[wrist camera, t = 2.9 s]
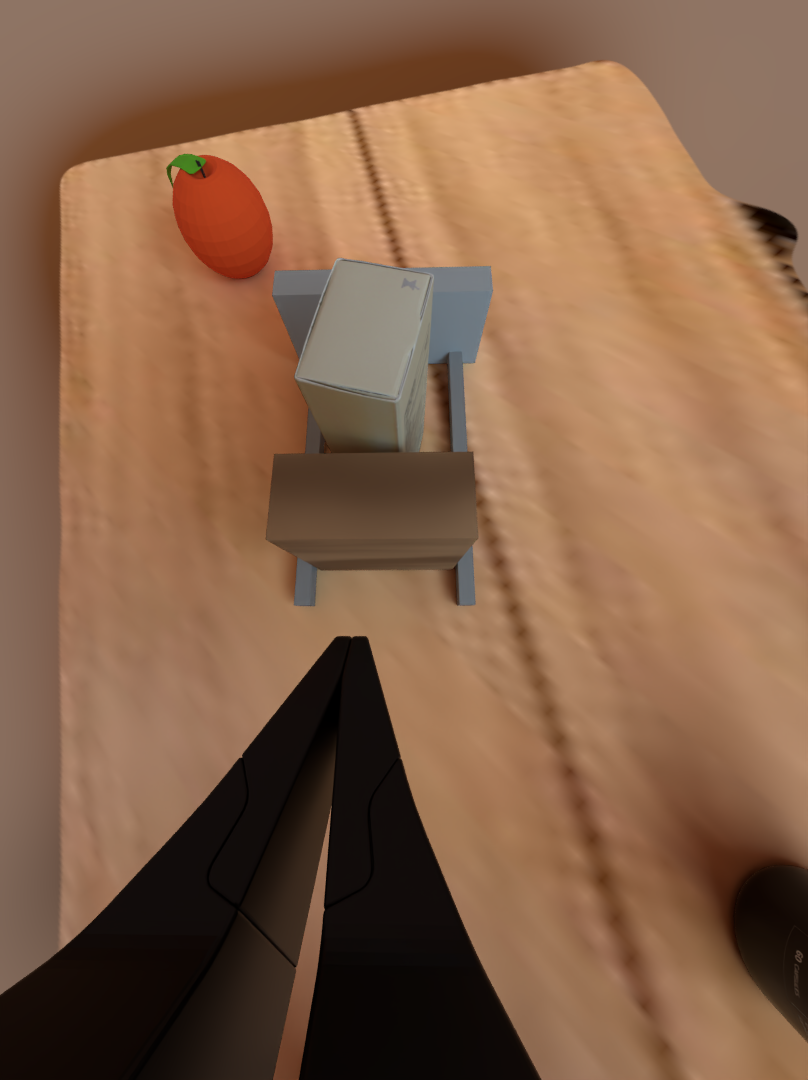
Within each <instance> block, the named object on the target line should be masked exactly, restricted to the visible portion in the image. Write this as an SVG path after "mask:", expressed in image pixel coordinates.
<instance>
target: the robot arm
mask: <svg viewBox="0 0 808 1080" xmlns="http://www.w3.org/2000/svg"><path fill="white" fill-rule="evenodd" d="M331 805H332V808H331ZM330 809H331V821H330V834H329V847H328V860H327V873H326V886H325V899H324V908H325V911H324V914H323V925H322V936H321V945H320V953H319V962H318V969H317V976H316V982H315V988H314V994H313V999H312V1005H311V1011H310V1017H309V1023H308V1029H307V1035H306V1041H305V1046H304V1052H303V1058H302V1064H301V1070H300V1076H299V1080H541V1078H540V1076H539V1074H538V1072H537V1070H536V1068H535V1066H534V1065H533V1063H532V1061H531V1059H530V1057H529V1055H528V1053H527V1051H526V1049H525V1047H524V1045H523V1043H522V1042H521V1040H520V1038H519V1036H518V1034H517V1032H516V1030H515V1028H514V1026H513V1024H512V1022H511V1020H510V1019H509V1017H508V1015H507V1013H506V1011H505V1009H504V1007H503V1005H502V1003H501V1001H500V999H499V997H498V996H497V994H496V992H495V990H494V988H493V986H492V984H491V982H490V980H489V978H488V976H487V974H486V972H485V970H484V968H483V966H482V964H481V962H480V960H479V958H478V956H477V954H476V951H475V949H474V947H473V945H472V943H471V940H470V938H469V936H468V934H467V931H466V929H465V927H464V924H463V922H462V920H461V917H460V915H459V913H458V910H457V908H456V905H455V903H454V900H453V898H452V895H451V893H450V891H449V888H448V886H447V883H446V881H445V878H444V876H443V874H442V871H441V869H440V866H439V864H438V861H437V859H436V856H435V854H434V852H433V849H432V847H431V844H430V842H429V839H428V837H427V834H426V832H425V829H424V827H423V824H422V821H421V819H420V816H419V813H418V811H417V808H416V805H415V802H414V799H413V796H412V793H411V790H410V786H409V783H408V780H407V777H406V773H405V769H404V766H403V762H402V760H401V756H400V752H399V748H398V745H397V741H396V738H395V734H394V730H393V727H392V723H391V720H390V716H389V712H388V709H387V705H386V701H385V698H384V694H383V691H382V687H381V683H380V680H379V676H378V673H377V669H376V665H375V662H374V658H373V655H372V651H371V647H370V644H369V640H368V638H367V637H366V636H354V637H353V638H351V637H350V636H338V637H336V638H335V639H334V640H333V641H332V642H331V644H330V645H329V646H328V647H327V649H326V650H325V651H324V652H323V654H322V655H321V656H320V657H319V659H318V660H317V661H316V662H315V664H314V665H313V666H312V667H311V669H310V670H309V671H308V672H307V674H306V675H305V676H304V678H303V679H302V680H301V681H300V683H299V684H298V685H297V686H296V688H295V689H294V690H293V691H292V693H291V694H290V695H289V696H288V698H287V699H286V700H285V701H284V703H283V704H282V705H281V706H280V708H279V709H278V710H277V711H276V713H275V714H274V715H273V716H272V718H271V719H270V720H269V722H268V723H267V724H266V725H265V727H264V728H263V729H262V730H261V732H260V733H259V734H258V735H257V737H256V738H255V739H254V740H253V742H252V743H251V744H250V745H249V747H248V748H247V749H246V750H245V752H244V753H243V754H242V758H239V759H238V760H237V761H236V763H235V764H234V765H233V767H232V768H231V769H230V770H229V772H228V773H227V774H226V775H225V777H224V778H223V779H222V780H221V781H220V783H219V784H218V785H217V786H216V787H215V789H214V790H213V791H212V792H211V793H210V795H209V796H208V797H207V798H206V799H205V801H204V802H203V803H202V804H201V805H200V806H199V807H198V808H197V809H196V811H195V812H194V813H193V814H192V815H191V816H190V817H189V818H188V819H187V821H186V822H185V823H184V824H183V825H182V826H181V827H180V828H179V829H178V831H177V832H176V833H175V834H174V835H173V836H172V837H171V838H170V839H169V840H168V841H167V842H166V843H165V845H164V846H163V847H162V848H161V849H160V850H159V851H158V852H157V853H156V854H155V855H154V856H153V857H152V859H151V860H150V861H149V862H148V863H147V864H146V865H145V866H144V867H143V868H142V869H141V870H140V871H139V872H138V874H137V875H136V876H135V877H134V878H133V879H132V880H131V881H130V882H129V883H128V884H127V885H126V886H125V888H124V889H123V890H122V891H121V892H120V893H119V894H118V895H117V896H116V897H115V898H114V899H113V900H112V901H111V903H110V904H109V905H108V906H107V907H106V908H105V909H104V910H103V911H102V912H101V913H100V914H99V915H98V916H97V917H96V918H95V919H94V920H93V921H92V922H91V923H90V924H89V925H88V926H87V927H86V928H85V929H84V930H83V931H82V932H81V933H80V934H78V935H77V936H76V937H75V938H74V939H73V940H72V941H70V942H69V943H68V944H67V945H66V946H65V947H64V948H62V949H61V950H60V951H59V952H57V953H56V954H55V955H54V956H53V957H51V958H50V959H49V960H48V961H46V962H45V963H44V964H42V965H41V966H40V967H38V968H37V969H36V970H34V971H33V972H31V973H30V974H29V975H27V976H26V977H24V978H23V979H22V980H20V981H19V982H17V983H16V984H15V985H13V986H12V987H11V988H9V989H8V990H6V991H5V992H4V993H3V994H1V995H0V1080H273V1076H274V1071H275V1067H276V1062H277V1057H278V1053H279V1048H280V1043H281V1039H282V1034H283V1029H284V1025H285V1020H286V1015H287V1011H288V1006H289V1001H290V997H291V992H292V987H293V983H294V978H295V973H296V968H295V967H296V966H297V964H298V959H299V954H300V949H301V945H302V940H303V935H304V931H305V926H306V921H307V917H308V912H309V907H310V903H311V898H312V893H313V889H314V884H315V879H316V875H317V870H318V865H319V861H320V856H321V851H322V847H323V842H324V837H325V833H326V828H327V823H328V819H329V814H330Z"/></svg>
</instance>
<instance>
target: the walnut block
mask: <svg viewBox="0 0 808 1080" xmlns="http://www.w3.org/2000/svg"><path fill="white" fill-rule="evenodd" d="M477 539H478V527H477V509H476V492H475V474H474V457H473V452H400V453H315V454H274V461H273V471H272V481H271V492H270V502H269V512H268V522H267V532H266V540H267V541H269V542H271V543H273V544H275V545H276V546H278V547H280V548H282V549H284V550H285V551H287V552H289V553H291V554H293V555H294V556H296V557H298V558H300V559H302V560H303V561H305V562H307V563H309V564H311V565H312V566H314V567H316V568H318V569H320V570H452V569H453V568H454V567H455V565H456V564H457V563H458V562H459V561H460V559H461V558H462V557H463V556H464V554H465V553H466V552H467V551H468V550H469V548H470V547H471V546H472V545H473V544H474V542H475V541H476V540H477Z"/></svg>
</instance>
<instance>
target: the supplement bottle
mask: <svg viewBox="0 0 808 1080" xmlns="http://www.w3.org/2000/svg"><path fill="white" fill-rule="evenodd" d="M734 926H735V934H736V939H737V944H738V947H739V951H740V953H741V956H742V959H743V961H744V963H745V966H746V968H747V970H748V972H749V973H750V975H751V977H752V978H753V980H754V982H755V983H756V985H757V986H758V988H759V989H760V990H761V991H762V993H763V994H764V995H765V996H766V998H767V999H768V1000H769V1001H770V1002H771V1003H772V1004H773V1005H774V1007H775V1008H776V1009H777V1010H778V1011H779V1012H780V1013H781V1014H782V1015H783V1016H784V1018H785V1019H786V1020H787V1021H788V1022H789V1023H790V1024H791V1025H792V1026H793V1028H794V1029H795V1030H796V1031H797V1032H798V1033H799V1034H800V1035H801V1036H802V1037H803V1038H804V1039H805V1040H806V1042H807V1043H808V870H806V869H803V868H800V867H796V866H790V865H775V866H770V867H766V868H764V869H761V870H759V871H758V872H756V873H755V874H753V875H752V876H751V877H750V878H749V879H748V880H747V881H746V882H745V884H744V885H743V887H742V889H741V890H740V893H739V895H738V898H737V901H736V906H735V913H734Z"/></svg>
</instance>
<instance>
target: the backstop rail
mask: <svg viewBox="0 0 808 1080" xmlns="http://www.w3.org/2000/svg"><path fill="white" fill-rule="evenodd" d="M404 269H409V270H414V271H419V272H427V273H430V274H433V275H434V284H433V299H432V314H431V329H430V343H429V357H428V364H439V363H447V366H448V391H449V416H450V441H451V452H467V435H466V416H465V397H464V378H463V363H475V360H476V356H477V352H478V348H479V344H480V340H481V336H482V332H483V328H484V324H485V320H486V316H487V312H488V308H489V304H490V300H491V296H492V292H493V287H492V275H491V266H479V267H432V268H404ZM330 272H331V270H290V271H275V275H274V284H273V292H272V296H273V298H274V301H275V303H276V305H277V308H278V310H279V313H280V315H281V317H282V320H283V322H284V324H285V327H286V329H287V331H288V334H289V336H290V338H291V341H292V343H293V345H294V348H295V350H296V353H297V355H298V357H299V360H300V356H301V354H302V350H303V347H304V344H305V341H306V338H307V335H308V332H309V329H310V326H311V323H312V320H313V317H314V315H315V311H316V309H317V306H318V303H319V300H320V298H321V295H322V292H323V290H324V287H325V285H326V282H327V280H328V277H329V275H330ZM324 442H325V439H324V437H323V435H322V433H321V431H320V429H319V427H318V425H317V423H316V421H315V419H314V417H313V415H312V413H311V411H310V409H308V422H307V436H306V449H305V454H315V453H324ZM455 566H456V591H457V605H475V586H474V567H473V548H472V546H471V547H470V548H469V550H468V551H467V552H466V553H465V554H464V556H463V557H462V558H461V559H460V561H459V562H458V563H457V564H456V565H455ZM316 577H317V568H316V567H314V566H312V565H311V564H309V563H307V562H305V561H303V560H302V559H300V558H297V571H296V585H295V598H294V605H296V606H315V594H316Z"/></svg>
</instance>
